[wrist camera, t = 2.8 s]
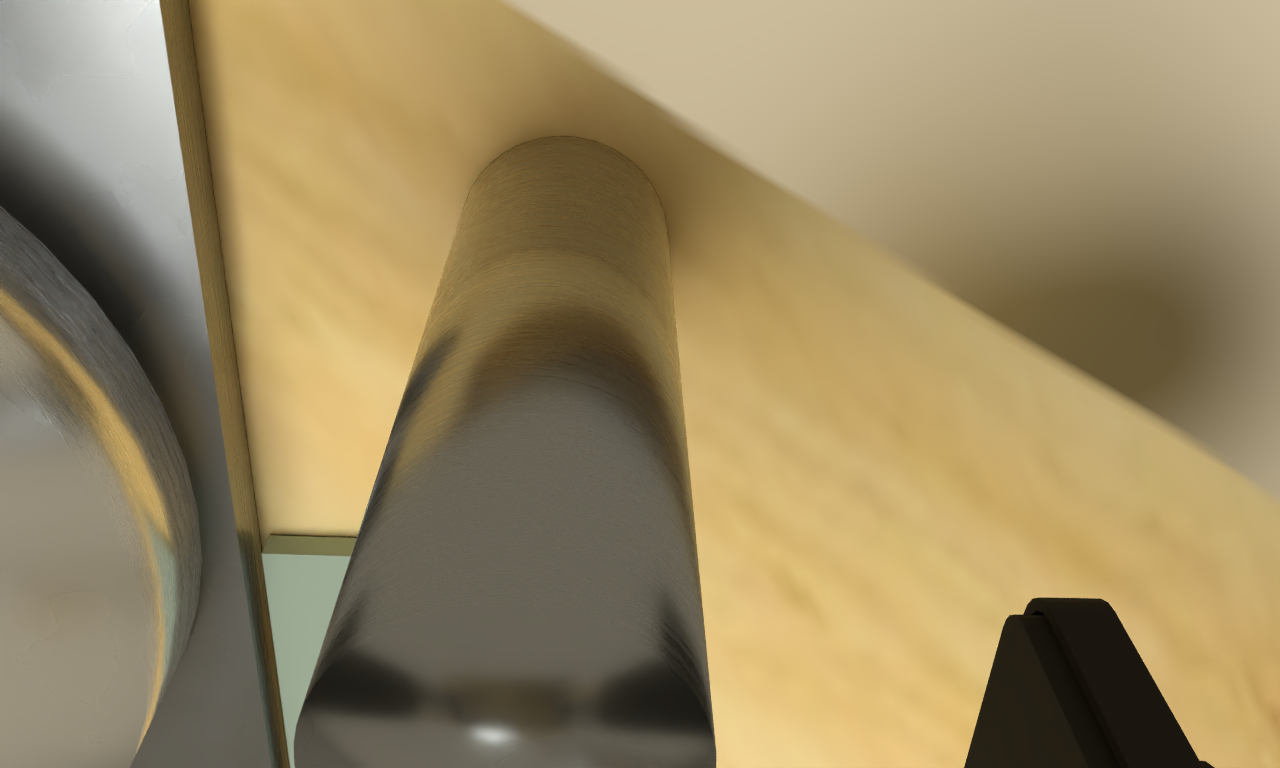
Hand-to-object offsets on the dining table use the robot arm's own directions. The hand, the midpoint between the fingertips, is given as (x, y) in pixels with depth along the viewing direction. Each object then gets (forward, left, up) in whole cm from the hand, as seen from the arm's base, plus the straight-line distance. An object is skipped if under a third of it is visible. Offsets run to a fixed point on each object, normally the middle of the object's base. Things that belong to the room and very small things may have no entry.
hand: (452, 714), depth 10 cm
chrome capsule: (0, +1, -12) cm, 12 cm away
